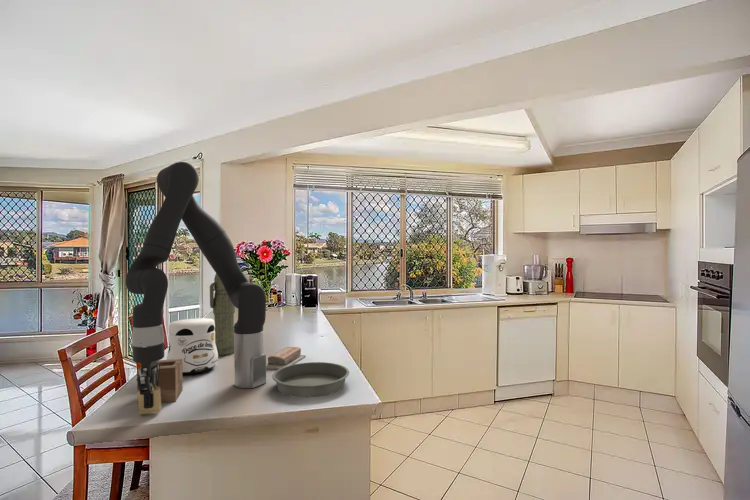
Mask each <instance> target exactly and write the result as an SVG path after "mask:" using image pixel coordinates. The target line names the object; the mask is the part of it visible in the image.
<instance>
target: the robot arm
mask: <svg viewBox="0 0 750 500" xmlns="http://www.w3.org/2000/svg"><path fill="white" fill-rule="evenodd" d="M199 181H200V178H199V172H198V170H197V169H196V168H195V167H194V165H192V164H191V163H189V162H186V161H178V162H174V163H173V164H170V165H168V166H166V167H164V168H162V169H161V170H160V171H159V172H158V173H157V175H156V185H157V186H158V189H159V191H160V192H161V193H162V195H163V196H164V200H163V203H162V205H161V206H160V209H159V210H158V212H157V214H156V215H155V217H154V218H153V221H152V222H151V224H150V226H149V228H148V230H147V232H146V235H145V238H144V241H143V244H142V248H141V251H140V252H139V254H138V255H137V257H135V260H134V261H133V263H132V264H131V265H130V268H128V270H127V273H126V275H125V286H126V289H127V291H128V292H129V293H131V294H134V295H143V299H142V302H141V303H139V304H136V305H135V306H133V308H132V332H131V334H132V335H131V340H132V341H131V343H132V344H131V345H132V347H131V348H132V362H133V363H137V364H138V363H139V364H140V367H141V369H139V368H138V369H139V375H140V377H137V376H136V383H138V387H139V391H140V395H144V408H145V409H147V408H152V407H153V392H154V391H153V388H154V387H157V385H158V384H159V372H160V363H159V364H157V361H158V360H163V358H165V331H164V326H163V308H164V304H165V300H166V297H167V292H168V287H169V280H168V276H167V274H166V273H165V272H164V271H163V269H160V268H157V267H158V266H159V265H160V264H164V263H165V262H167V261H169V258H170V255H171V252H172V249H173V246H174V242H175V238H176V235H177V231H178V229H179V226H180V223H181V221H182V222H183V223H184V224H183V225H184V226H185V227H186V229H187V231H188V232H189V233H190V235H191V236H192V238H193V240H194V241H195V243H196V245H197V247H198V248H199V250H200V251H201V253H202V254H203V256H204V258H205V259H206V260H207V262H208V264H209V266H211V268H212V269H213V271H214V272H215V275H216V274H217V275H218V276H219V278H220V280H221V282H222V283H223V286H224V288H225V290H226V292H227V294H228V296H229V298H230V300H231V302H232V304H233V305H234V306H235V309H237V320H236V322H234V355H233V356H234V358H233V359H234V362H233V363H234V366H233V368H234V386H235V387H237V388H240V389H249V388H250V389H251V388H252V389H254V388H257V387H259V386H261V385H263V384H266V383H267V368H266V362H267V354H266V353H264V325H265V323H266V314H267V313H266V312H267V311H266V309H267V299H266V298H267V297H266V293H265V290H264V288H263V287H262V286H261V285H260V284H258V283H253V282H250V281H249V280H248V278H247V277H246V276H245V274H244V273H243V271H242V270H241V268H240V266H239V263H238V259H237V256H236V252H235V249H234V245H233V243H232V241H231V238H230V237H229V235H228V234H227V232H226V230H225V228H224V227H223V226H222V224H220V222H218V221H217V220H216V219H215V217H213V216H212V215H210V214H209V213H208V212H207V211H205V209H204V208H203V207H201V205H200V204H199V203H198V202H197V199H196V198H195V197H194V193H195V191H196V189H197V187H198V186H199V185H198V184H199ZM145 388H146V390H145Z"/></svg>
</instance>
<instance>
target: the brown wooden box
mask: <svg viewBox="0 0 750 500" xmlns="http://www.w3.org/2000/svg"><path fill="white" fill-rule="evenodd" d="M159 363H160V372H159V384H158V385H157V387H160V390H161V404H164V403H167V404H168V403H176V402H177V400H178V399H179V397H180V395H181V394H182V392H183V391H184V390H183V389H184V386H183V384H184V381H183V377H184V376H183V375H184V374H182V359H171V360H166V359H161V360H158V361H157V364H159ZM139 369H141V366H140V367H139V368H138V369H137V370H136V375H137V376H136V378H137V377H140V375H139ZM136 383H137V382H136ZM136 386H137V387H136V388H137V391H136V392H138V391H139V387H138V383H137V385H136ZM145 389H146V388H145ZM136 396H137V398H138V394H136Z"/></svg>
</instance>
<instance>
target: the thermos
mask: <svg viewBox="0 0 750 500" xmlns="http://www.w3.org/2000/svg"><path fill="white" fill-rule="evenodd" d="M209 307H210V309H212V314H213V317H214V318H213V320H214V322H215V344H216V348H217V351H218V357H223V356H224V357H225V356H232V355H233V354H234V325H235V319H234V318H235V316H234V315H235V312H236V307H235V306H234V305H233V304H232V302H231V300H230V298H229V296H228V294H227V292H226V290H225V288H224V286H223V283H222V282H221V280H220V278H219V276H218V275H217V274H216V273H215V275H214V279H213V282H212V283H211V284H210V285H209Z"/></svg>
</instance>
